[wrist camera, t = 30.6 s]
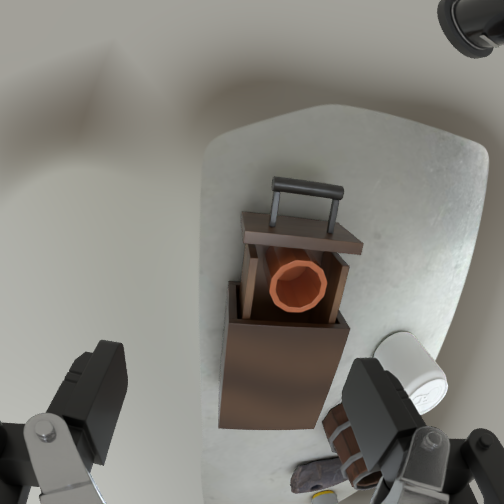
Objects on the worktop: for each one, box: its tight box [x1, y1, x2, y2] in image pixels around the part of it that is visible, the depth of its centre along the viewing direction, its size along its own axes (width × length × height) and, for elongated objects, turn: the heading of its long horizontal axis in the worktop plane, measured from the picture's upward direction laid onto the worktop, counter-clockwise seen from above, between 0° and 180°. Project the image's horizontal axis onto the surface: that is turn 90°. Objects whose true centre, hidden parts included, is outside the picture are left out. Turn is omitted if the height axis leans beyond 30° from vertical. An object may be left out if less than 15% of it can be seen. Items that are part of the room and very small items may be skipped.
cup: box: [263, 246, 327, 313], centre depth 34 cm, size 6×6×7 cm
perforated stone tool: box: [290, 458, 348, 494], centre depth 53 cm, size 15×5×7 cm, turn 93°
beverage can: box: [373, 332, 448, 415], centre depth 40 cm, size 8×8×12 cm
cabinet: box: [218, 281, 350, 430], centre depth 39 cm, size 17×13×10 cm
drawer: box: [237, 176, 363, 324], centre depth 35 cm, size 20×12×8 cm, turn 173°
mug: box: [322, 403, 383, 490], centre depth 45 cm, size 16×12×15 cm
